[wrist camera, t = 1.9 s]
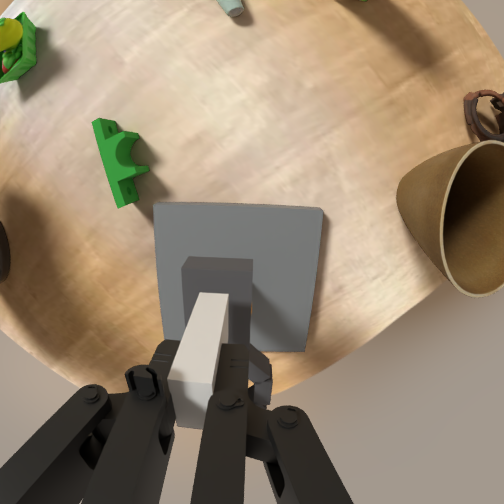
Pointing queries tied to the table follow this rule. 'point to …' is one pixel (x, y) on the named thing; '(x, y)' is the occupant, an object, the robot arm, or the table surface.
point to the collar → (230, 310)
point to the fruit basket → (16, 47)
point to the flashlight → (231, 7)
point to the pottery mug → (470, 102)
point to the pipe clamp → (118, 160)
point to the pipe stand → (246, 247)
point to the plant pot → (460, 214)
